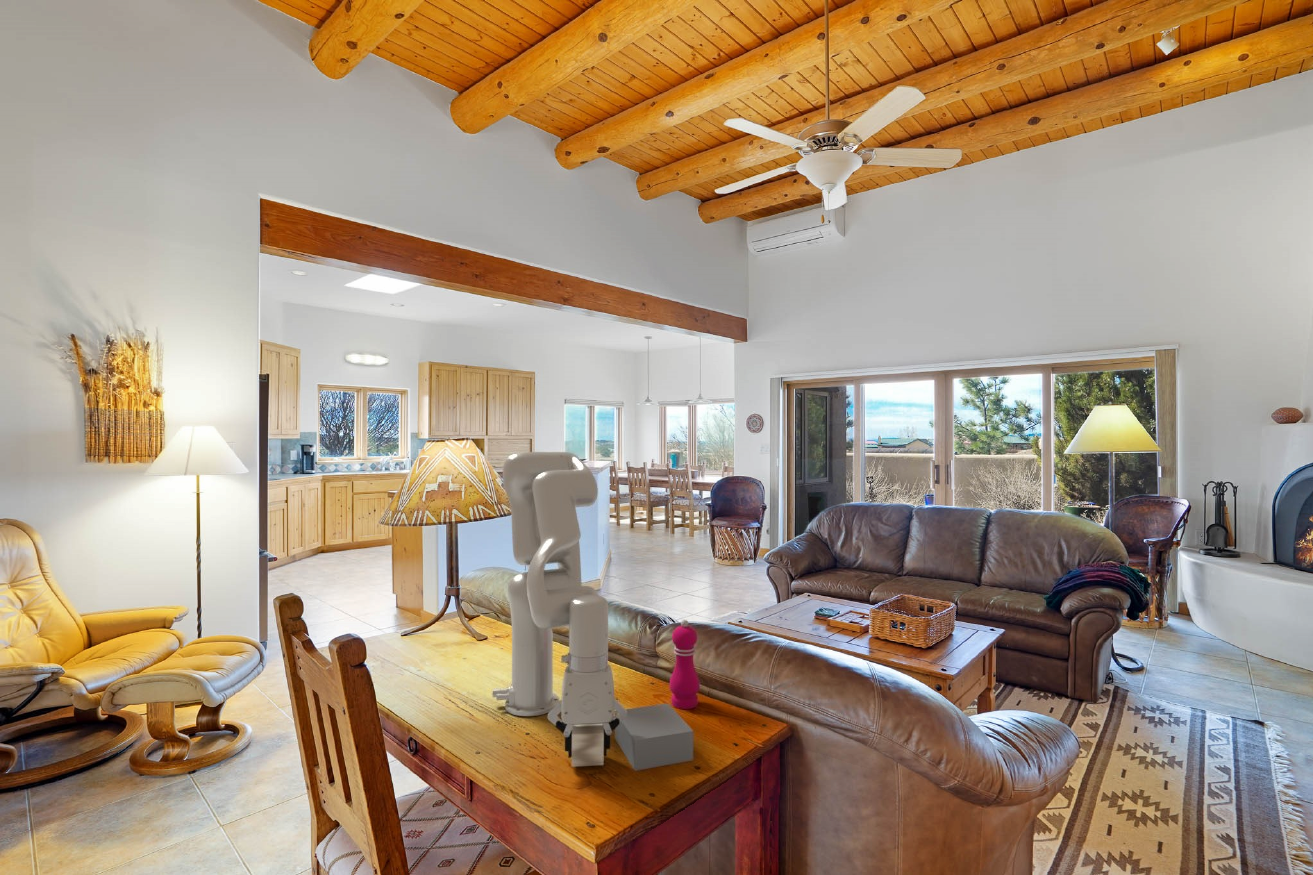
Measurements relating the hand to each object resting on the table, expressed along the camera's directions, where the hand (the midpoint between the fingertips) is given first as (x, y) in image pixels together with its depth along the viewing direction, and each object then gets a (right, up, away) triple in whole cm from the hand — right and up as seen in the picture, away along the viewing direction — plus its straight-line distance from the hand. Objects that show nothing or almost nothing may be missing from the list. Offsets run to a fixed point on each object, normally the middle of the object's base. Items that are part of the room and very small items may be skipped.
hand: (587, 752), depth 122 cm
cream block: (0, -1, 0) cm, 1 cm away
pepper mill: (+20, -3, +28) cm, 35 cm away
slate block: (+13, -3, +6) cm, 14 cm away
